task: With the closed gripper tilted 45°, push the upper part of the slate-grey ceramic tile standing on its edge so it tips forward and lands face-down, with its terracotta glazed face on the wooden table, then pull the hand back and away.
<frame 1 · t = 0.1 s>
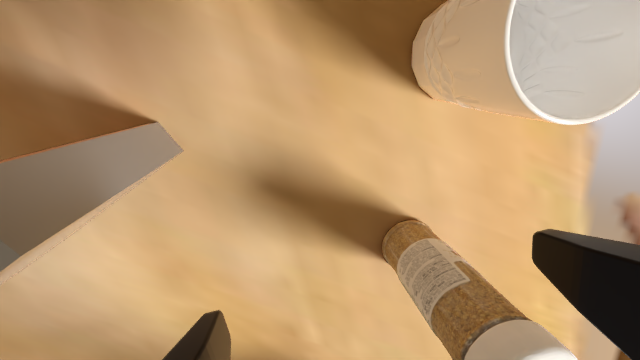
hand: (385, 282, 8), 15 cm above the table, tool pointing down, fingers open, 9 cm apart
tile: (113, 180, 21), on the table
white cup: (453, 54, 22), on the table
sprinkles bottle: (405, 241, 25), on the table
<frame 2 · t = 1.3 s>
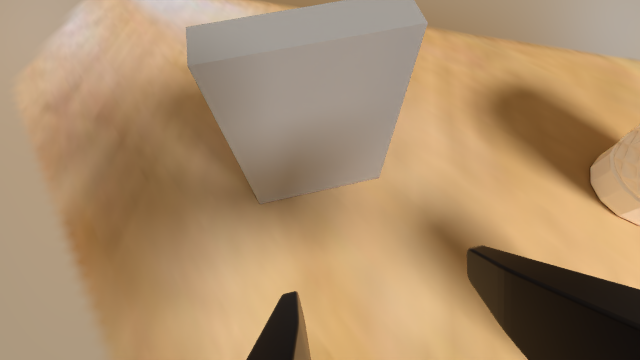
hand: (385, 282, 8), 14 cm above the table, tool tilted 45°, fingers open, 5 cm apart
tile: (317, 178, 25), on the table
white cup: (632, 189, 24), on the table
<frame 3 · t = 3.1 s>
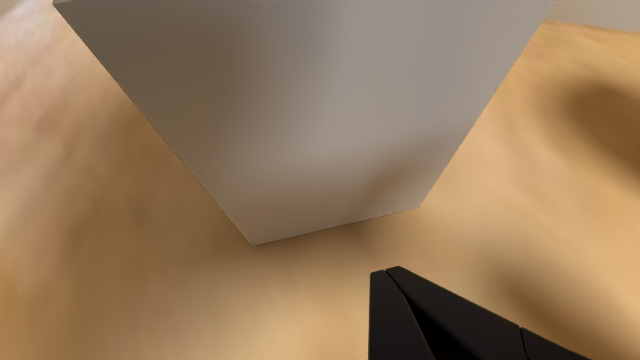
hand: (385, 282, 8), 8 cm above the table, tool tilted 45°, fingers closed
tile: (332, 207, 18), on the table
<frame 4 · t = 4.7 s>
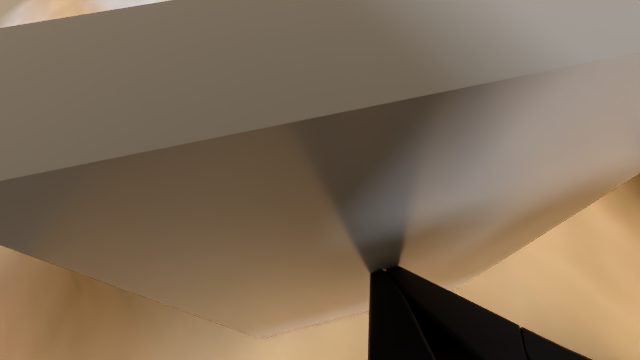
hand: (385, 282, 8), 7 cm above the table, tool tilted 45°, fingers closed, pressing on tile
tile: (355, 287, 15), on the table, touching gripper
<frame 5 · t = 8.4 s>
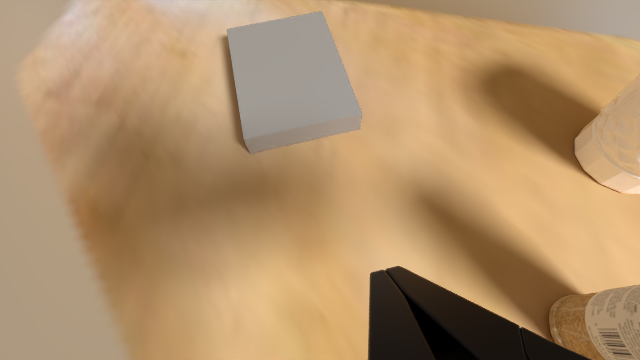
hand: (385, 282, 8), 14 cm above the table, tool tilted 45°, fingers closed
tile: (305, 134, 26), point 1 cm above the table, tilted 90°
white cup: (614, 159, 25), on the table
sprinkles bottle: (580, 331, 20), on the table
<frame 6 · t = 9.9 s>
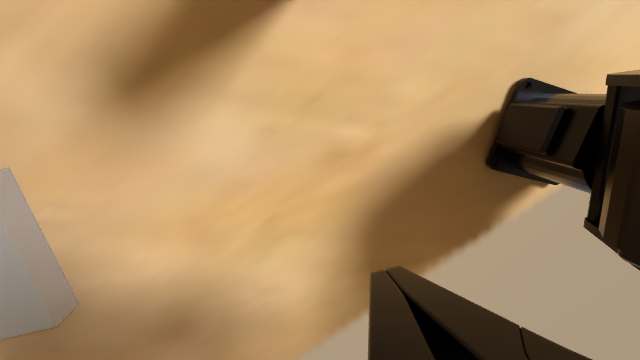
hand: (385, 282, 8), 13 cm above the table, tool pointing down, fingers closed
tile: (35, 248, 19), point 1 cm above the table, tilted 90°
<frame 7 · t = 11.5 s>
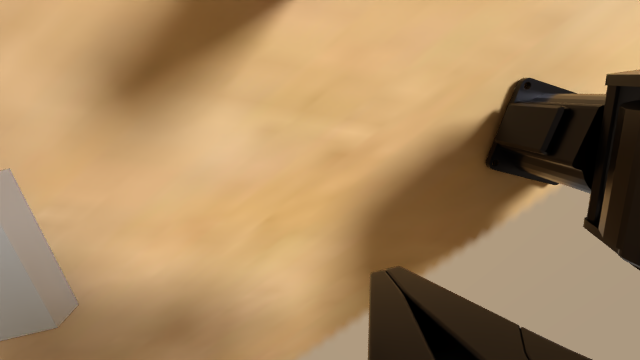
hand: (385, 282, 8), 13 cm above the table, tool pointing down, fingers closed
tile: (35, 249, 19), point 1 cm above the table, tilted 90°
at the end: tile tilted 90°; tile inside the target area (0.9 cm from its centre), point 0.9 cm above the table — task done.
